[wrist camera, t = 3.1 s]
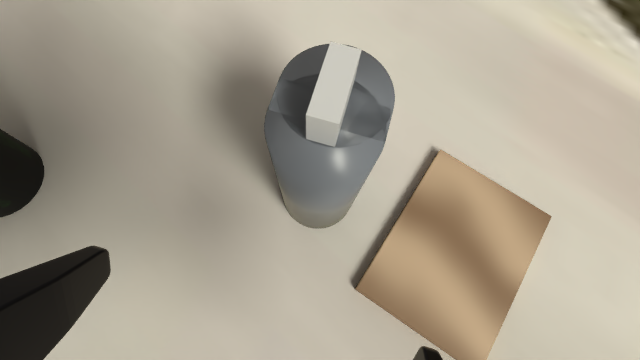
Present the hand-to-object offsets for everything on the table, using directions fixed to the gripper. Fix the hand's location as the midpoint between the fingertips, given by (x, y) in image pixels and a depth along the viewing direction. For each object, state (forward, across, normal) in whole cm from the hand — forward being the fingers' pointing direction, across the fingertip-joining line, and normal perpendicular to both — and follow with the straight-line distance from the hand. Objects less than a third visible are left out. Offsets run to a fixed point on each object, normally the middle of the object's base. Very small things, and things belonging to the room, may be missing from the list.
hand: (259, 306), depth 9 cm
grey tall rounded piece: (+15, 0, +4) cm, 16 cm away
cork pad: (+14, -10, +5) cm, 18 cm away
